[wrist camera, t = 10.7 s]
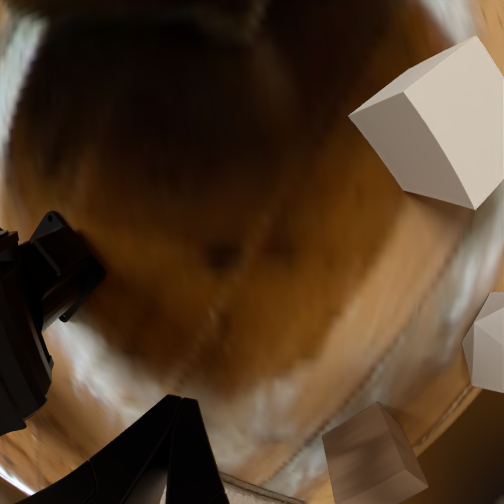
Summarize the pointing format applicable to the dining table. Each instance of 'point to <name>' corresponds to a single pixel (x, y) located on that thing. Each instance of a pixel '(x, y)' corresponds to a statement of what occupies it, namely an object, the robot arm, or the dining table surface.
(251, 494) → the washcloth
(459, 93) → the pale grey block
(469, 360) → the die
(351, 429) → the walnut block
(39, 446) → the dining table surface
